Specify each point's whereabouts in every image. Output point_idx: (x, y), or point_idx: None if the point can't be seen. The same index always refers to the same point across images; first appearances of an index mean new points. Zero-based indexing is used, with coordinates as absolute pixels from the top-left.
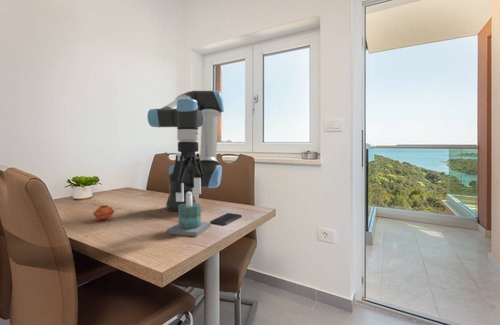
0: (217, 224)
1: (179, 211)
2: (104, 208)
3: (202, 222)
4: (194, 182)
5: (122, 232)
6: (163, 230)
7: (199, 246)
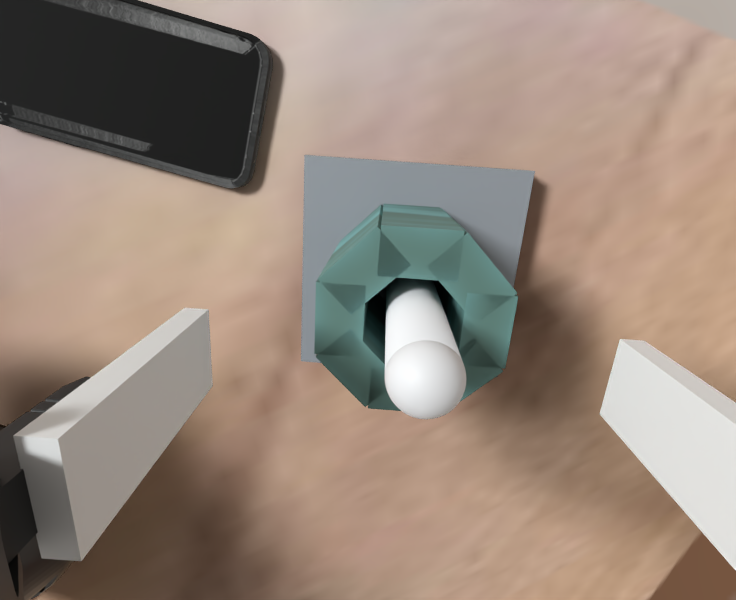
0: (263, 116)
1: None
2: None
3: (319, 215)
4: (134, 478)
5: (493, 565)
6: None
7: (694, 81)
